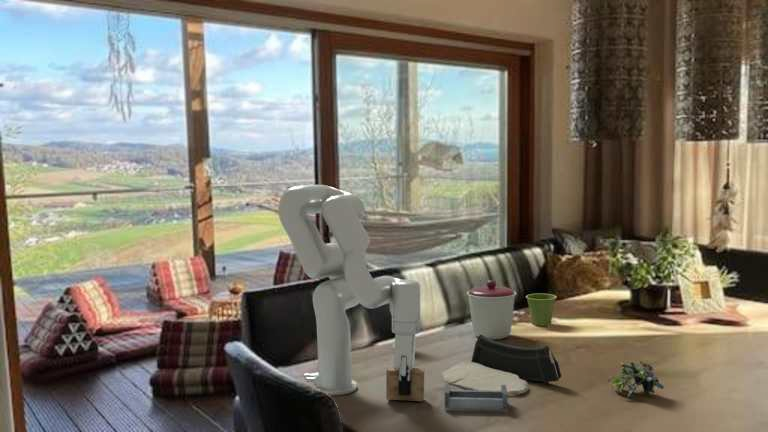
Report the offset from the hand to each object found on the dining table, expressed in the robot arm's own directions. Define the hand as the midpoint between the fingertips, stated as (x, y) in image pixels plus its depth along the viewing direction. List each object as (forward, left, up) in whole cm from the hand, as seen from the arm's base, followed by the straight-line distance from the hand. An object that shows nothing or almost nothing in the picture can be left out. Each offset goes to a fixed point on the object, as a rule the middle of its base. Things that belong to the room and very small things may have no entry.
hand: (405, 391), depth 178 cm
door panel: (0, 0, -2) cm, 2 cm away
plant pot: (+46, +88, -3) cm, 99 cm away
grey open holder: (+19, -3, -3) cm, 19 cm away
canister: (+26, +69, -3) cm, 73 cm away
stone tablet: (+21, +17, -3) cm, 27 cm away
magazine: (+31, +23, -3) cm, 38 cm away
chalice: (-7, +54, -3) cm, 54 cm away
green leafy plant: (+62, +8, -3) cm, 62 cm away
